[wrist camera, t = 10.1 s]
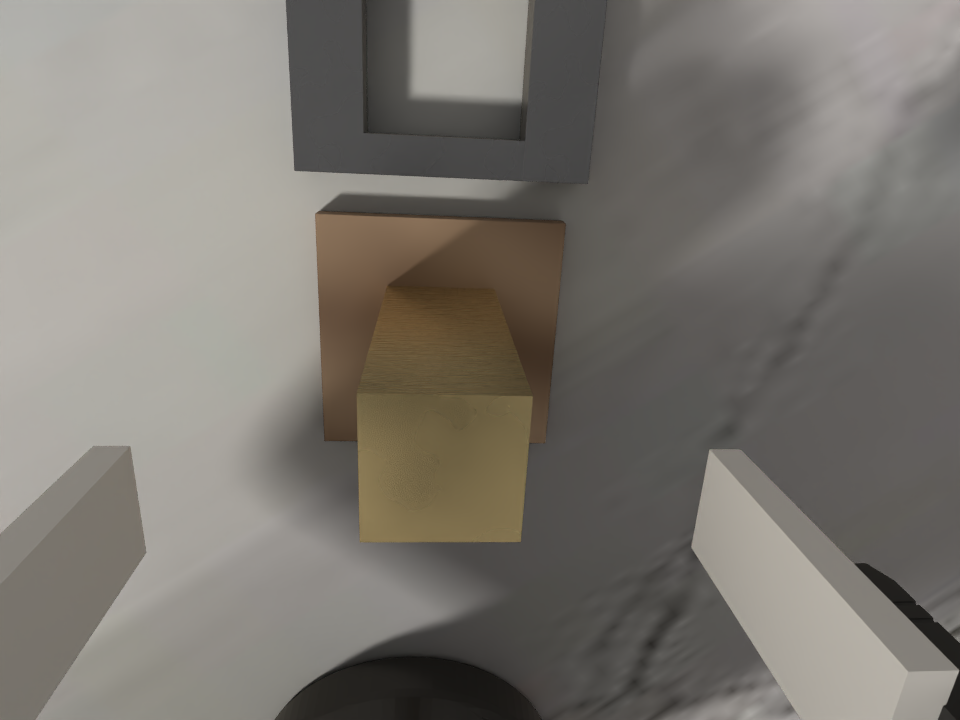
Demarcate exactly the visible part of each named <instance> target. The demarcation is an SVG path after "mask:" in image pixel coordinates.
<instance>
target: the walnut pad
mask: <svg viewBox="0 0 960 720" xmlns="http://www.w3.org/2000/svg"><path fill="white" fill-rule="evenodd" d="M315 221H316V245H317V270H318V294H319V319H320V343H321V368H322V392H323V417H324V441H358V433H357V390H358V387H359V383H360V380H361V376H362V373H363V369H364V366H365V362H366V358H367V355H368V351H369V348H370V344H371V341H372V337H373V334H374V330H375V327H376V323H377V320H378V316H379V313H380V309H381V305H382V302H383V298H384V295H385V291H386V288H387V286H416V287H449V288H482V289H495V292H496V295H497V298H498V300H499V303H500V306H501V309H502V311H503V314H504V317H505V320H506V323H507V325H508V328H509V331H510V334H511V337H512V339H513V342H514V345H515V348H516V350H517V353H518V356H519V359H520V362H521V364H522V367H523V370H524V373H525V375H526V378H527V381H528V384H529V387H530V389H531V392H532V395H533V402H532V414H531V426H530V437H529V443H545V440H546V429H547V418H548V408H549V397H550V386H551V376H552V365H553V355H554V344H555V333H556V323H557V312H558V301H559V291H560V280H561V270H562V259H563V248H564V238H565V227H566V224H565V223H564V222H563V221H558V220H533V219H508V218H482V217H457V216H432V215H407V214H382V213H357V212H331V211H318V212H317V213H316V214H315Z"/></svg>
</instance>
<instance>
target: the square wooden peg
mask: <svg viewBox="0 0 960 720" xmlns="http://www.w3.org/2000/svg"><path fill="white" fill-rule="evenodd" d="M532 402H533V395H532V392H531V389H530V387H529V384H528V381H527V378H526V375H525V373H524V370H523V367H522V364H521V362H520V359H519V356H518V353H517V350H516V348H515V345H514V342H513V339H512V337H511V334H510V331H509V328H508V325H507V323H506V320H505V317H504V314H503V311H502V309H501V306H500V303H499V300H498V298H497V295H496V292H495V289H482V288H449V287H416V286H387V288H386V291H385V295H384V298H383V302H382V305H381V309H380V313H379V316H378V320H377V323H376V327H375V330H374V334H373V337H372V341H371V344H370V348H369V351H368V355H367V358H366V362H365V366H364V369H363V373H362V376H361V380H360V383H359V387H358V390H357V433H358V481H359V530H360V542H521V533H522V521H523V509H524V497H525V485H526V473H527V461H528V449H529V437H530V426H531V414H532Z"/></svg>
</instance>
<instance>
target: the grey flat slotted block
mask: <svg viewBox="0 0 960 720" xmlns="http://www.w3.org/2000/svg"><path fill="white" fill-rule="evenodd" d="M606 6H607V0H529V5H528V20H527V35H526V50H525V65H524V80H523V96H522V111H521V126H520V140H512V139H492V138H472V137H452V136H432V135H412V134H392V133H372V132H368V109H367V26H366V0H286V12H287V31H288V51H289V71H290V91H291V110H292V130H293V150H294V170H295V171H311V172H333V173H356V174H378V175H400V176H423V177H445V178H468V179H490V180H513V181H535V182H557V183H580V184H588V179H589V169H590V160H591V150H592V140H593V131H594V121H595V111H596V102H597V92H598V83H599V73H600V63H601V54H602V44H603V34H604V25H605V15H606Z"/></svg>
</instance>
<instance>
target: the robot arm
mask: <svg viewBox="0 0 960 720" xmlns="http://www.w3.org/2000/svg"><path fill="white" fill-rule="evenodd" d="M691 548H692V549H693V551H694V553H695V554H696V556H697V557H698V559H699V560H700V562H701V564H702V565H703V567H704V568H705V570H706V571H707V573H708V574H709V576H710V578H711V579H712V581H713V582H714V584H715V585H716V587H717V589H718V590H719V592H720V593H721V595H722V596H723V598H724V600H725V601H726V603H727V604H728V606H729V607H730V609H731V611H732V612H733V614H734V615H735V617H736V618H737V620H738V621H739V623H740V625H741V626H742V628H743V629H744V631H745V632H746V634H747V636H748V637H749V639H750V640H751V642H752V643H753V645H754V647H755V648H756V650H757V651H758V653H759V654H760V656H761V658H762V659H763V661H764V662H765V664H766V665H767V667H768V668H769V670H770V672H771V673H772V675H773V676H774V678H775V679H776V681H777V683H778V684H779V686H780V687H781V689H782V690H783V692H784V694H785V695H786V697H787V698H788V700H789V701H790V703H791V705H792V706H793V708H794V709H795V711H796V712H797V714H798V715H799V717H800V719H801V720H960V643H959V642H958V641H957V640H956V639H955V638H954V637H953V636H952V635H950V634H949V633H948V632H947V631H946V630H945V629H944V628H943V627H942V626H941V625H940V624H939V623H938V622H934V621H933V617H932V616H931V615H930V614H929V613H928V612H926V611H925V610H924V609H923V608H922V607H921V606H920V605H916V601H915V600H914V599H913V598H912V597H911V596H910V595H909V594H908V593H907V592H906V591H905V590H904V589H902V588H901V587H900V586H899V585H898V584H897V583H896V582H895V581H894V580H892V579H891V578H889V577H887V576H886V575H884V574H883V573H881V572H879V571H878V570H876V569H874V568H873V567H871V566H870V565H868V564H866V563H860V564H854V563H853V562H852V561H851V560H850V559H849V558H848V557H847V556H846V555H845V554H844V553H843V552H842V551H841V550H840V549H839V548H838V547H837V546H836V545H835V544H834V543H833V542H832V541H831V540H830V539H829V538H828V537H827V536H826V535H825V534H824V533H823V532H822V531H821V530H820V529H819V528H818V527H817V526H816V525H815V524H814V523H813V522H812V521H811V520H810V519H809V518H808V517H807V516H806V515H805V514H804V513H803V512H802V511H801V510H800V509H799V508H798V507H797V506H796V505H795V504H794V503H793V502H792V501H791V500H790V499H789V498H788V497H787V496H786V495H785V494H784V493H783V492H782V491H781V490H780V489H779V488H778V487H777V486H776V485H775V484H774V483H773V482H772V481H771V480H770V479H769V478H768V477H767V476H766V475H765V474H764V473H763V472H762V471H761V469H760V468H759V467H758V466H757V465H756V464H755V463H754V462H753V461H752V460H751V459H750V458H749V457H748V456H747V455H746V454H745V453H744V452H743V451H742V450H741V449H709V455H708V460H707V466H706V471H705V476H704V482H703V487H702V492H701V498H700V503H699V508H698V514H697V519H696V525H695V530H694V535H693V541H692V546H691ZM145 554H146V547H145V541H144V534H143V527H142V521H141V514H140V508H139V501H138V494H137V488H136V481H135V474H134V468H133V461H132V455H131V448H130V446H93V447H92V448H91V449H90V450H89V451H88V452H86V453H85V454H84V455H83V456H82V457H81V458H80V459H79V460H78V461H77V462H76V463H75V464H74V465H73V466H72V467H71V468H70V469H69V470H67V471H66V472H65V473H64V474H63V475H62V476H61V477H60V478H59V479H58V480H57V481H56V482H55V483H54V484H53V485H52V486H51V487H49V488H48V489H47V490H46V491H45V492H44V493H43V494H42V495H41V496H40V497H39V498H38V499H37V500H36V501H35V502H34V503H33V504H32V505H30V506H29V507H28V508H27V509H26V510H25V511H24V512H23V513H22V514H21V515H20V516H19V517H18V518H17V519H16V520H15V521H14V522H13V523H11V524H10V525H9V526H8V527H7V528H6V529H5V530H4V531H3V532H2V533H1V534H0V720H35V719H36V718H37V716H38V715H39V713H40V712H41V710H42V709H43V707H44V706H45V704H46V703H47V701H48V700H49V698H50V697H51V695H52V694H53V692H54V691H55V689H56V688H57V686H58V685H59V683H60V682H61V680H62V679H63V677H64V676H65V674H66V673H67V671H68V670H69V668H70V667H71V665H72V664H73V662H74V661H75V659H76V658H77V656H78V655H79V653H80V652H81V650H82V649H83V647H84V646H85V644H86V643H87V641H88V640H89V638H90V637H91V635H92V634H93V632H94V631H95V629H96V628H97V626H98V624H99V623H100V621H101V620H102V618H103V617H104V615H105V614H106V612H107V611H108V609H109V608H110V606H111V605H112V603H113V602H114V600H115V599H116V597H117V596H118V594H119V593H120V591H121V590H122V588H123V587H124V585H125V584H126V582H127V581H128V579H129V578H130V576H131V575H132V573H133V572H134V570H135V569H136V567H137V566H138V564H139V563H140V561H141V560H142V558H143V557H144V555H145ZM275 720H542V719H541V718H540V716H539V714H538V713H537V711H536V710H535V709H534V707H533V706H532V705H531V704H530V702H529V701H528V700H527V699H526V698H525V697H524V696H523V695H522V694H521V693H519V692H518V691H517V690H516V689H514V688H513V687H512V686H510V685H509V684H507V683H506V682H504V681H503V680H501V679H499V678H497V677H496V676H494V675H492V674H489V673H487V672H485V671H483V670H480V669H478V668H475V667H472V666H469V665H465V664H462V663H458V662H453V661H448V660H442V659H435V658H422V657H404V658H391V659H383V660H376V661H371V662H367V663H362V664H359V665H355V666H352V667H349V668H346V669H343V670H340V671H338V672H336V673H333V674H331V675H329V676H327V677H325V678H323V679H321V680H319V681H318V682H316V683H314V684H312V685H311V686H309V687H308V688H306V689H305V690H304V691H302V692H301V693H300V694H298V695H297V696H296V697H295V698H294V699H293V700H291V701H290V702H289V703H288V704H287V705H286V706H285V707H284V709H283V710H282V711H281V712H280V713H279V715H278V716H277V717H276V719H275Z"/></svg>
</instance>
